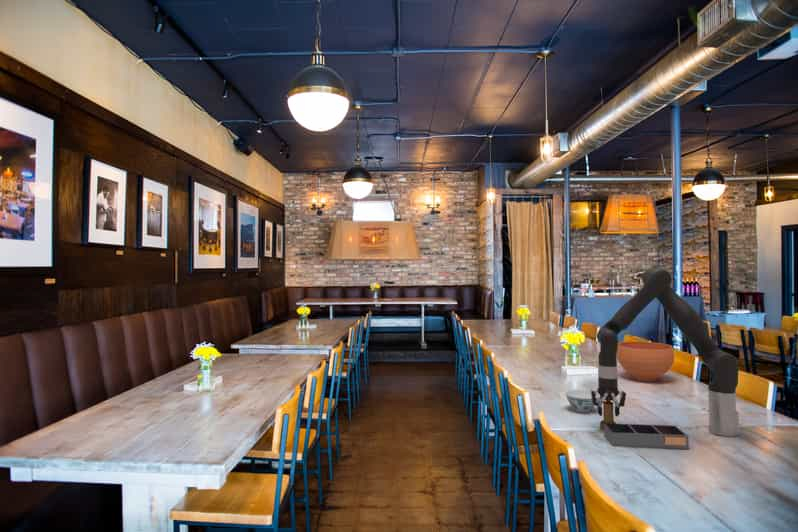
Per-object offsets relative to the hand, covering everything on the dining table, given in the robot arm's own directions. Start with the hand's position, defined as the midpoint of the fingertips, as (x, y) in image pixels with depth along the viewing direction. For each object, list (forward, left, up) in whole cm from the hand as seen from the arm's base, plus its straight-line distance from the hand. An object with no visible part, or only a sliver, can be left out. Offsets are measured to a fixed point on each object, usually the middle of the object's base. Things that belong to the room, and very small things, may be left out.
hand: (608, 415), depth 197 cm
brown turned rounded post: (0, 0, -6) cm, 6 cm away
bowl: (-45, -90, -6) cm, 101 cm away
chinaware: (+5, -25, -6) cm, 26 cm away
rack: (-10, +14, -6) cm, 18 cm away
